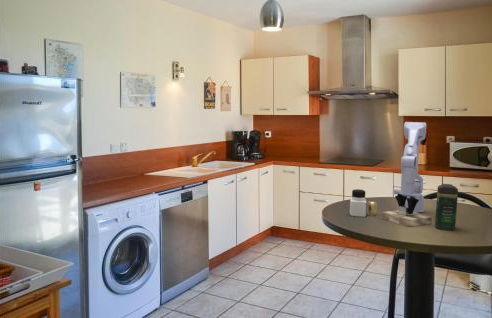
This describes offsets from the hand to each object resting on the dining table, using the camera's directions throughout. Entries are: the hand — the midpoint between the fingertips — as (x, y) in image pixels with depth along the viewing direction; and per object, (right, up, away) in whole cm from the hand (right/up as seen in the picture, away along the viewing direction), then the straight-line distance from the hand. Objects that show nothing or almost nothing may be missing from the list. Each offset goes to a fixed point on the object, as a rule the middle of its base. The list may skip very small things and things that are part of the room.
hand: (406, 212), depth 197 cm
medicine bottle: (-19, -3, +11) cm, 22 cm away
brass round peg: (-12, -2, +12) cm, 17 cm away
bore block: (0, -4, 0) cm, 4 cm away
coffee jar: (+13, -5, -10) cm, 17 cm away
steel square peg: (0, -3, 0) cm, 3 cm away
